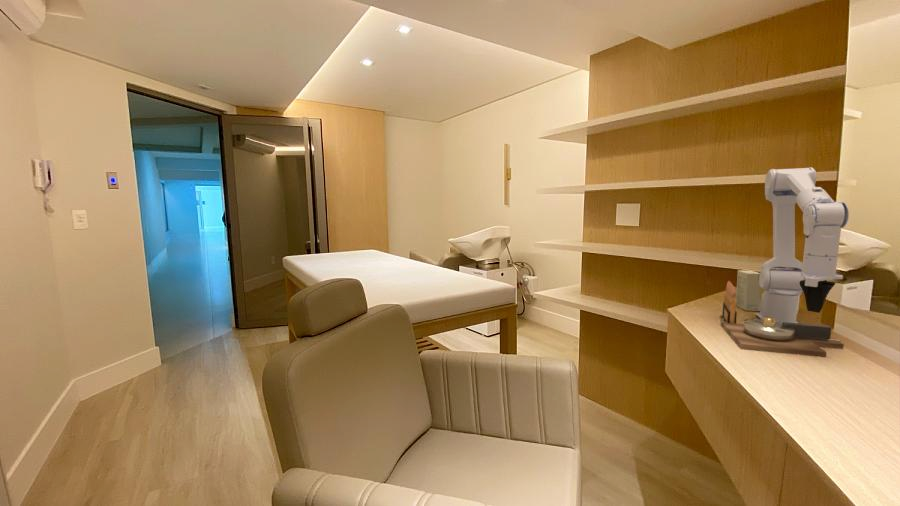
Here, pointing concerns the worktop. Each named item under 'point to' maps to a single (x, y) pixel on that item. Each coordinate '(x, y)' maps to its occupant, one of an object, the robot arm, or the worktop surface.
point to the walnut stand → (780, 342)
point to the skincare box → (748, 290)
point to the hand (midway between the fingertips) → (813, 311)
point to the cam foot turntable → (785, 329)
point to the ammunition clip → (729, 304)
